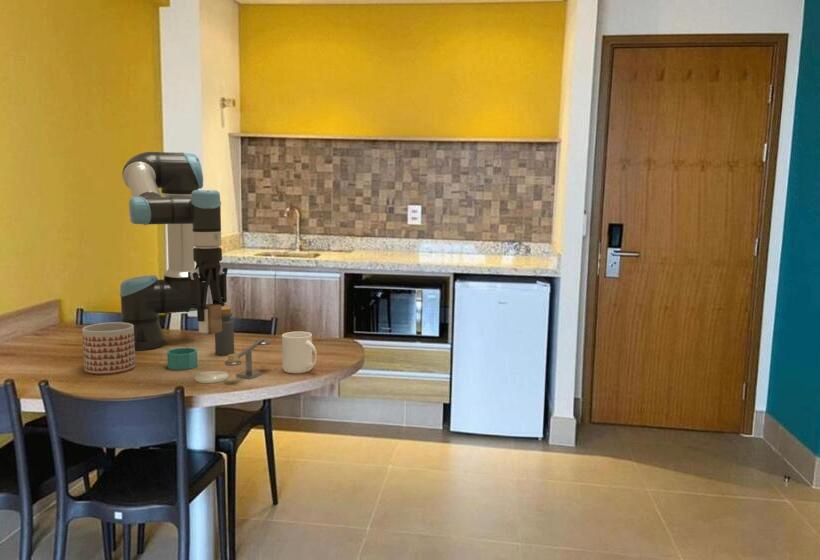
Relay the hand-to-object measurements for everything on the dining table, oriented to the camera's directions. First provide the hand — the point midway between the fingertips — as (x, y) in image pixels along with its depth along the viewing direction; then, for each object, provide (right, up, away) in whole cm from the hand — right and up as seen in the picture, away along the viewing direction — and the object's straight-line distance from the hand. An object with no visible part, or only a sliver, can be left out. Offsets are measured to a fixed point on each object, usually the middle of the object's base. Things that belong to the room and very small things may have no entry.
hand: (210, 330), depth 183 cm
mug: (+24, -13, +11) cm, 29 cm away
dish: (0, -14, +2) cm, 14 cm away
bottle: (-4, -10, +31) cm, 32 cm away
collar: (-13, -12, +15) cm, 23 cm away
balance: (+10, -13, +5) cm, 17 cm away
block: (0, 0, 0) cm, 0 cm away
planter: (-33, -12, +11) cm, 37 cm away
